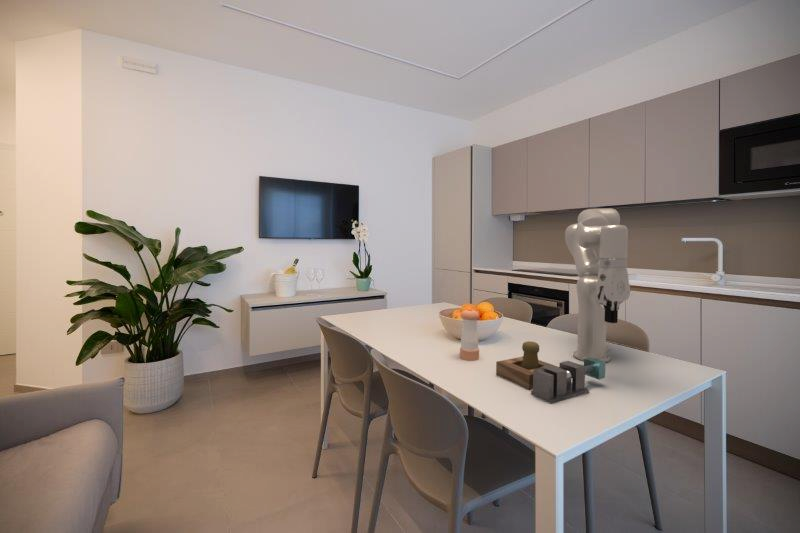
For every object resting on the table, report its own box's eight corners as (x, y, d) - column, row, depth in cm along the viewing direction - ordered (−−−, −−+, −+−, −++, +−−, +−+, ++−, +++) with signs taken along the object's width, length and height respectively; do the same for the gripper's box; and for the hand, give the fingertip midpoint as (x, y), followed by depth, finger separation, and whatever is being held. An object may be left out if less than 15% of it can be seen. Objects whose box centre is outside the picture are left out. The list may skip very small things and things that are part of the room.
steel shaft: (589, 372, 114) (590, 357, 113) (605, 377, 109) (605, 361, 109) (553, 382, 106) (553, 365, 106) (567, 388, 101) (568, 370, 101)
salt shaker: (483, 358, 136) (483, 308, 135) (469, 361, 132) (470, 310, 131) (469, 353, 142) (469, 306, 141) (455, 356, 138) (456, 307, 137)
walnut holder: (526, 368, 125) (526, 355, 125) (560, 381, 113) (561, 367, 112) (496, 374, 119) (496, 361, 118) (529, 389, 106) (529, 375, 106)
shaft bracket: (567, 384, 111) (568, 359, 110) (588, 392, 104) (589, 366, 104) (530, 394, 103) (531, 367, 103) (551, 403, 97) (551, 375, 96)
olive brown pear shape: (541, 379, 111) (542, 345, 111) (521, 378, 113) (522, 344, 112) (538, 373, 117) (539, 340, 117) (519, 371, 119) (519, 339, 118)
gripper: (609, 265, 105) (607, 327, 106) (638, 264, 112) (636, 322, 113) (586, 264, 112) (584, 322, 113) (615, 263, 119) (613, 318, 120)
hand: (610, 322), depth 113 cm, fingers closed
